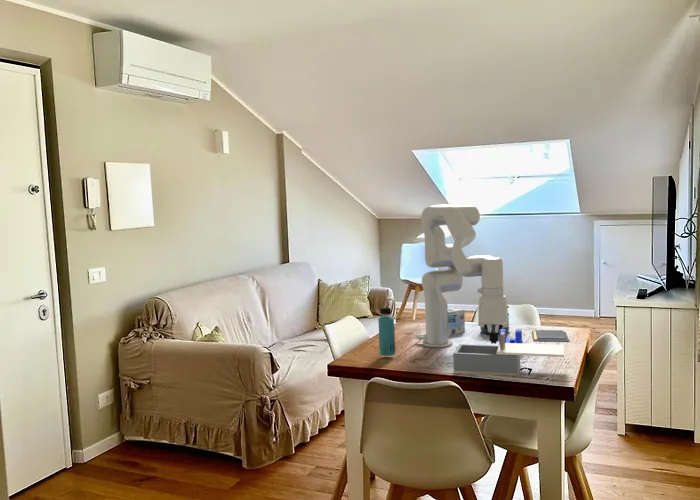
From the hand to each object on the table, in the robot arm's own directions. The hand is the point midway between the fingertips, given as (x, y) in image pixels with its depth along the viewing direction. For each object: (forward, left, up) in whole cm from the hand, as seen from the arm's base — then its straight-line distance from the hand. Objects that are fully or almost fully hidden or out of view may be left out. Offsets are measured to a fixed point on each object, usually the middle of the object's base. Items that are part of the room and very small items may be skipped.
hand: (493, 342), depth 216 cm
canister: (-7, +62, -10) cm, 63 cm away
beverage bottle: (-43, +9, -10) cm, 45 cm away
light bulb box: (-26, +58, -10) cm, 64 cm away
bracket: (+3, +33, -10) cm, 35 cm away
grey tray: (-3, 0, -10) cm, 10 cm away
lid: (+13, 0, -2) cm, 13 cm away
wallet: (+18, +56, -11) cm, 60 cm away
